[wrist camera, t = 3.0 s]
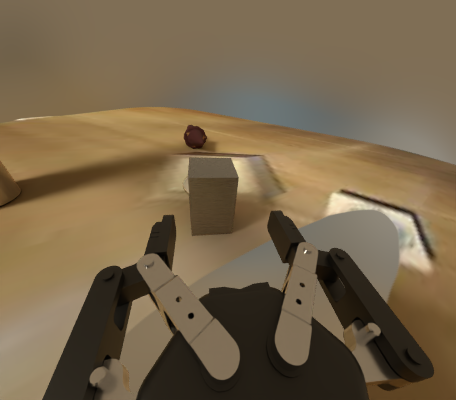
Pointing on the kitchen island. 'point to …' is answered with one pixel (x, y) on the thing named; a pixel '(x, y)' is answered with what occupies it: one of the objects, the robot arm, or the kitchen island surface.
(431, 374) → the robot arm
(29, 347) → the kitchen island surface
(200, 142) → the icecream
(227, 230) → the grey block
